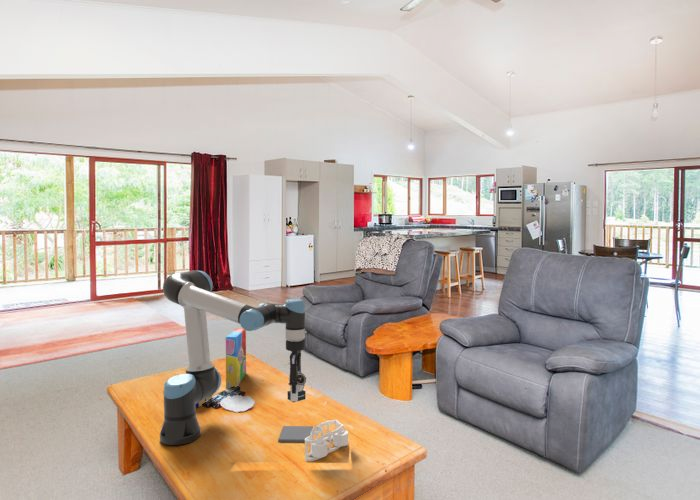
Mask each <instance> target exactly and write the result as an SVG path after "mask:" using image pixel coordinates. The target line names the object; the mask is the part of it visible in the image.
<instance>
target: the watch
mask: <svg viewBox="0 0 700 500" xmlns="http://www.w3.org/2000/svg"><path fill="white" fill-rule="evenodd" d="M288 376H289V378H288V381H289V382H288V383H290V375H288ZM292 382H294V381H292ZM306 382H307V377H306V375H305V374H304V373H303V372H302V371H301V372H300V371H298V377H297V384H298V401H291V390H288V391H287V400H289V401H290V402H292V403H296V402H300V401H304V400H306V390H304V389H305V387H306ZM289 387H291V385H289Z"/></svg>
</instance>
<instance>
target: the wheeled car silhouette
mask: <svg viewBox="0 0 700 500" xmlns="http://www.w3.org/2000/svg"><path fill="white" fill-rule="evenodd" d="M333 424H335V425H334V426H335V427H334V428H335V430H331V431H330V425H333ZM325 426H326V433H324V427H325ZM319 434H320V437H319ZM314 437H315V439H314ZM308 444H310V451H308V450H309V449H308V448H309V447H308ZM332 444H333V445H334V446H335V447H332ZM348 444H349V431H348V430H347V429H344V424H343V423H341V422H339V420H338V419H333V420H332V419H331V420H326V421H324V422H321V423H319V424H317V425H315V426H313V428H312V431H311V432H310V436H308V437H306V438H305V442H304V446H305V447H304V453H305V456H304V460H305V462H313V461H317V460H320V459H322V458H324V457H326V456H327V455H328V454H330V453H333V452H335V451H337V450H339V449H340V448H341V447H346V446H348ZM308 452H309V453H308Z"/></svg>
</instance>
